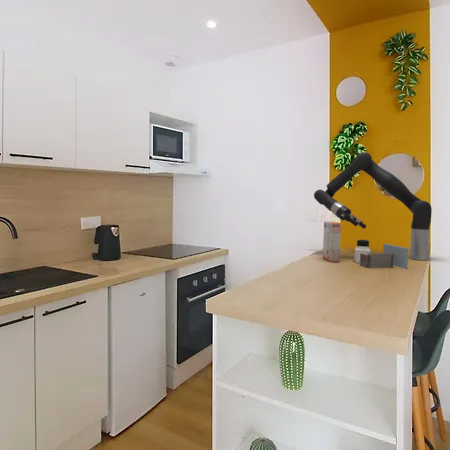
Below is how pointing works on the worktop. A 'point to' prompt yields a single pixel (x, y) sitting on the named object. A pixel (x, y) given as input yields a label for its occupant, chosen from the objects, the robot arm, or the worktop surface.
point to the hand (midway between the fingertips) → (361, 226)
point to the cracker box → (331, 241)
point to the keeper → (377, 260)
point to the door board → (397, 255)
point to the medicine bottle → (361, 249)
